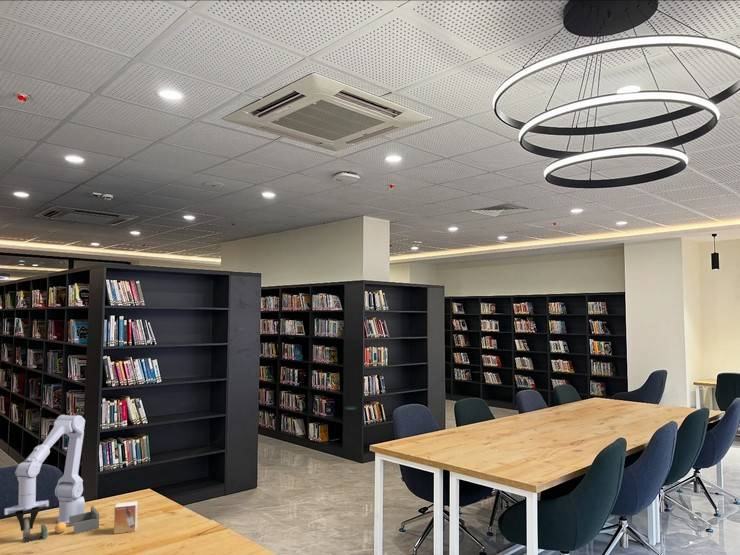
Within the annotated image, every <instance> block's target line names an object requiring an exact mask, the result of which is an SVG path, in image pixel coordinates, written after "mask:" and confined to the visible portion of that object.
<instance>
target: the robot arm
mask: <svg viewBox="0 0 740 555" xmlns="http://www.w3.org/2000/svg"><path fill="white" fill-rule="evenodd" d="M85 424H86V419H85V418H84V417H83V416H82V415H79V414H78V415H67V414H60V415H59V416H58V417H56V419H55V420H54V422H53V427H52V429H51V430H50V432H49V434H48V435H47V436H46V438H45V439H44V441H43V443H42V444H38V445H37V446H35V447H34V448H33V451H32V452H31V453H30V454H29V455H28V456H27V457H26V459H25V460H24V461H22V462H20V463H19V464H18V465H17V466H16V470H15V471H14V474H15V476H16V478H17V481H18V504H16V505H13V506H10V507H6V508H4V515H5V516H6V515H7V516H8V515H9V514H15V517H16V518H17V520H18V523H19V526H20V531H21V532H23V518H24V515H25V514H24V512H25V511H30V514H29V515H30V530H32V529H33V528H34V523H35V520H36V518H37V516H38V514H39V512H40V508H44V507H46V508H47V507H49V506H50V501H49V499H46V500H37V501H36V499H37V498H36V497H37V495H36V494H37V476H38V474H40V471H41V467H42V466H43V465H42V464H43V463H44V462H45V460H46V459H47V457H48V456H49V455H50V453H51V450H50V449H51V448H52V447H53V445H54V444H56V442H57V441H58V440H59V439H60V438H61V437H62V436H63V435H65V434H66V436H67V437H68V438H69V439H68V445H67V451H66V458H65V465H64V471H63V475H62V476H61V477H59V479H58V480H57V485H56V486H55V488H54V495H55V497H57V500H58V501H59V504H58V505H59V506H58V510H59V511H58V517H57V518H56V521H57V524H58V523H60V522H63V523H65V524H66V525H67V524H69V516H73V515H77V514H82V513H86V512H85V508H86V506H85V505H86V504H85V497H84V495H83V496H82V494H83V491H84V485H83V482H84V480H83V478H82V477H81V476H80V475H79V470H80V463H81V456H82V450H83V449H82V448H83V444H84V443H83V442H84V437H85V436H84V435H85V431H84V430H85Z"/></svg>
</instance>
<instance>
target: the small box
mask: <svg viewBox="0 0 740 555" xmlns="http://www.w3.org/2000/svg"><path fill="white" fill-rule="evenodd" d="M138 502H139V501H138V500H135V501H126V502H117V503H115V504H116V505H115V507H114V515H113V517H114V520H113V521H114V522H113V524H114V525H113V534H117V535H118V534H125V533H126V532H128V533H135V532H136V531H137V527H138V505H139V504H138ZM126 534H127V533H126Z"/></svg>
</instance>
